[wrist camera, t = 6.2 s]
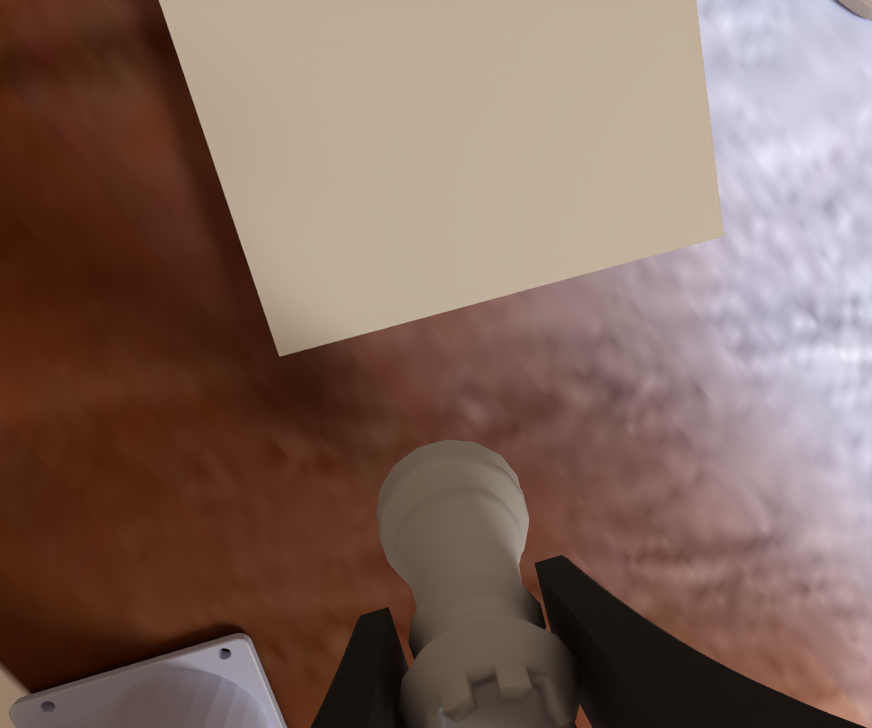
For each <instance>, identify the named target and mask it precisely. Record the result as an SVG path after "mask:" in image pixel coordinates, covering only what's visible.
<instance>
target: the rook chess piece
mask: <svg viewBox="0 0 872 728" xmlns="http://www.w3.org/2000/svg"><path fill="white" fill-rule="evenodd" d="M376 517H377V520H378V523H379V527H378V534H379V537H380V540H381V543H382V546H383V549H384V552H385V555H386V558H387V560H388V562H389V564H390V565H391V567H392V568H393V569H394V570H395V571H396V572H397V573H398V574H399V575H400V576H401V577H402V578H403V579H404V580H405V582H406V583H407V584H408V585H409V586H410V587H411V588H412V591H413V595H414V599H415V603H416V608H417V611H416V613H415V615H414V616H413V618H412V620H411V628H410V635H409V642H408V643H409V646H410V649H411V652H412V655H413V657H414V662H413V664H412V665H411V667H410V668H409V670H408V671H407V673H406V674H405V676H404V677H403V679H402V683H401V691H400V698H399V705H398V713H399V716H400V718H401V721H402V724H403V727H404V728H577V727H576V724H575V719H576V717H577V713H578V709H579V704H580V700H581V696H582V691H583V683H582V679H581V675H580V671H579V667H578V662H577V658H576V657H575V656H574V655H573V654H572V653H571V651H570V650H569V649H568V648H567V647H566V646H565V644H564V643H563V642H562V641H561V640H560V639H559V638H558V636H557V635H555V634H553V633H551V632H549V631H547V630H545V628H546V625H545V621H544V617H543V613H542V609H541V605H540V603H539V602H538V601H537V600H536V599H535V597H534V596H533V595H532V594H531V593H530V592H529V590H528V589H527V588H526V587H525V586H523V585H522V582H521V576H520V570H519V563H520V557H521V554H522V552H523V551H524V547H525V542H526V536H527V531H528V526H529V515H528V511H527V507H526V503H525V499H524V495H523V491H522V490H521V489H520V485H519V481H518V477H517V475H516V474H515V473H514V472H513V470H512V469H511V468H510V467H509V465H508V464H507V463H506V462H505V460H504V459H503V458H502V457H501V455H499V454H497V453H495V452H493V451H491V450H489V449H487V448H485V447H483V446H482V445H480V444H478V443H476V442H466V441H455V440H443V441H440V442H436V443H433V444H429V445H426V446H422V447H419V448H416V449H415V450H414V451H413V452H411V453H410V454H409V455H407V456H406V457H405V458H403V459H402V460H401V461H399V462H398V463H397V464H395V465H394V466H393V468H392V470H391V471H390V473H389V475H388V476H387V478H386V480H385V481H384V483H383V485H382V487H381V488H380V490H379V499H378V508H377V516H376Z"/></svg>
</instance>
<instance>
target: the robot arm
mask: <svg viewBox="0 0 872 728" xmlns="http://www.w3.org/2000/svg"><path fill="white" fill-rule="evenodd" d="M535 567H536V571H537V575H538V579H539V584H540V588H541V592H542V596H543V600H544V604H545V609H546V613H547V617H548V621H549V625H550V630H551V633H553V634H555V635H557V636H558V638H559V639H560V640H561V641H562V642H563V643H564V644H565V646H566V647H567V648H568V649H569V650H570V651H571V653H572V654H573V655H574V656H575V657H576V658H577V662H578V667H579V671H580V675H581V679H582V683H583V691H582V696H581V700H580V705H581V706H582V708H583V710H584V712H585V714H586V716H587V718H588V720H589V722H590V724H591V726H592V728H866V727H864V726H861V725H858V724H856V723H853V722H850V721H848V720H845V719H842V718H840V717H837V716H834V715H832V714H829V713H827V712H824V711H822V710H819V709H817V708H815V707H812V706H810V705H807V704H805V703H803V702H800V701H798V700H796V699H794V698H791V697H789V696H787V695H785V694H782V693H780V692H778V691H776V690H773V689H771V688H769V687H767V686H765V685H762V684H760V683H758V682H756V681H753V680H751V679H749V678H747V677H745V676H743V675H741V674H739V673H737V672H735V671H733V670H731V669H729V668H727V667H726V666H724V665H722V664H720V663H718V662H716V661H715V660H713V659H711V658H709V657H707V656H705V655H704V654H702V653H700V652H698V651H697V650H695V649H693V648H691V647H690V646H688V645H686V644H685V643H683V642H681V641H680V640H678V639H677V638H675V637H673V636H672V635H670V634H669V633H667V632H666V631H664V630H662V629H661V628H659V627H658V626H656V625H655V624H653V623H652V622H650V621H649V620H647V619H646V618H644V617H643V616H641V615H640V614H638V613H637V612H636V611H634V610H633V609H631V608H630V607H629V606H627V605H626V604H624V603H623V602H622V601H620V600H619V599H617V598H616V597H615V596H613V595H612V594H611V593H609V592H608V591H607V590H605V589H604V588H603V587H602V586H600V585H599V584H598V583H596V582H595V581H594V580H593V579H591V578H590V577H589V576H588V575H586V574H585V573H584V572H583V571H582V570H580V569H579V568H578V567H577V566H576V565H575V564H573V563H572V562H571V561H570V560H569V559H568V558H566V557H564V556H563V555H560V556H557V557H553V558H550V559H547V560H543V561H540V562H537V563H535ZM222 648H226V649H229V650H230V652H225V651H223V650H222ZM408 670H409V669H408V666H407V663H406V660H405V656H404V653H403V650H402V647H401V644H400V641H399V638H398V635H397V632H396V629H395V626H394V623H393V619H392V616H391V613H390V610H389V607H387V608H384V609H380V610H377V611H374V612H371V613H367V614H364V615H361V616H360V617H359V619H358V621H357V623H356V625H355V628H354V631H353V633H352V636H351V638H350V641H349V643H348V646H347V648H346V651H345V653H344V656H343V658H342V660H341V663H340V665H339V668H338V670H337V672H336V675H335V677H334V679H333V681H332V683H331V686H330V688H329V690H328V692H327V694H326V697H325V699H324V701H323V703H322V705H321V707H320V710H319V712H318V714H317V716H316V718H315V720H314V722H313V724H312V725H311V727H310V728H404V727H403V724H402V721H401V718H400V716H399V713H398V705H399V698H400V691H401V683H402V679H403V677H404V676H405V674H406V673H407V671H408ZM50 702H52V703H53V704H52V703H50ZM9 715H10V718H11V720H12V722H13V723H14V725H15V727H16V728H287V727H286V724H285V722H284V719H283V717H282V714H281V712H280V709H279V707H278V704H277V702H276V700H275V697H274V695H273V692H272V690H271V687H270V685H269V682H268V680H267V677H266V675H265V673H264V670H263V668H262V665H261V663H260V660H259V658H258V655H257V653H256V650H255V648H254V645H253V643H252V641H251V639H250V637H249V636H247V635H246V634H242V633H236V634H232V635H229V636H225V637H222V638H219V639H215V640H212V641H209V642H205V643H202V644H198V645H195V646H192V647H188V648H185V649H182V650H178V651H175V652H172V653H168V654H165V655H162V656H158V657H155V658H152V659H148V660H145V661H141V662H138V663H135V664H131V665H128V666H125V667H121V668H118V669H115V670H111V671H108V672H105V673H101V674H98V675H95V676H91V677H88V678H85V679H81V680H78V681H74V682H71V683H68V684H64V685H61V686H58V687H54V688H51V689H48V690H44V691H41V692H38V693H34V694H31V695H28V696H24V697H22V698H20V699H18V700H17V701H16V702H15V704H14V705H13V706H12V707H11V708H10V711H9Z"/></svg>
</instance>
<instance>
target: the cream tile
mask: <svg viewBox="0 0 872 728" xmlns="http://www.w3.org/2000/svg"><path fill="white" fill-rule="evenodd" d="M159 2H160V5H161V8H162V11H163V14H164V17H165V20H166V23H167V26H168V29H169V31H170V34H171V37H172V40H173V43H174V46H175V49H176V52H177V55H178V58H179V61H180V64H181V67H182V70H183V73H184V76H185V79H186V82H187V85H188V88H189V91H190V94H191V97H192V100H193V103H194V105H195V108H196V111H197V114H198V117H199V120H200V123H201V126H202V129H203V132H204V135H205V138H206V141H207V144H208V147H209V150H210V153H211V156H212V159H213V162H214V165H215V168H216V171H217V174H218V177H219V179H220V182H221V185H222V188H223V191H224V194H225V197H226V200H227V203H228V206H229V209H230V212H231V215H232V218H233V221H234V224H235V227H236V230H237V233H238V236H239V239H240V242H241V245H242V248H243V251H244V253H245V256H246V259H247V262H248V265H249V268H250V271H251V274H252V277H253V280H254V283H255V286H256V289H257V292H258V295H259V298H260V301H261V304H262V307H263V310H264V313H265V316H266V319H267V322H268V325H269V327H270V330H271V333H272V336H273V339H274V342H275V345H276V348H277V351H278V354H279V357H280V356H284V355H288V354H291V353H295V352H299V351H302V350H306V349H310V348H313V347H317V346H321V345H325V344H328V343H332V342H336V341H339V340H343V339H347V338H350V337H354V336H358V335H361V334H365V333H369V332H372V331H376V330H380V329H384V328H387V327H391V326H395V325H398V324H402V323H406V322H409V321H413V320H417V319H420V318H424V317H428V316H432V315H435V314H439V313H443V312H446V311H450V310H454V309H457V308H461V307H465V306H468V305H472V304H476V303H479V302H483V301H487V300H491V299H494V298H498V297H502V296H505V295H509V294H513V293H516V292H520V291H524V290H527V289H531V288H535V287H539V286H542V285H546V284H550V283H553V282H557V281H561V280H564V279H568V278H572V277H575V276H579V275H583V274H587V273H590V272H594V271H598V270H601V269H605V268H609V267H612V266H616V265H620V264H623V263H627V262H631V261H634V260H638V259H642V258H646V257H649V256H653V255H657V254H660V253H664V252H668V251H671V250H675V249H679V248H682V247H686V246H690V245H694V244H697V243H701V242H705V241H708V240H712V239H716V238H719V237H723V236H724V233H723V225H722V216H721V208H720V199H719V191H718V182H717V174H716V165H715V157H714V148H713V140H712V131H711V123H710V114H709V106H708V97H707V89H706V80H705V72H704V63H703V54H702V46H701V37H700V29H699V20H698V12H697V3H696V0H159Z"/></svg>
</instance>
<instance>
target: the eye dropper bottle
mask: <svg viewBox="0 0 872 728" xmlns="http://www.w3.org/2000/svg"><path fill="white" fill-rule="evenodd" d="M838 1H839V2H841V3H842V4H843V5H844V6H846V7H847V8H848V9H850V10H851V11H853V12H854V13H856V14H858V15H860V16H862V17H864V18H866V19H869V20H872V0H838Z"/></svg>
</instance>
